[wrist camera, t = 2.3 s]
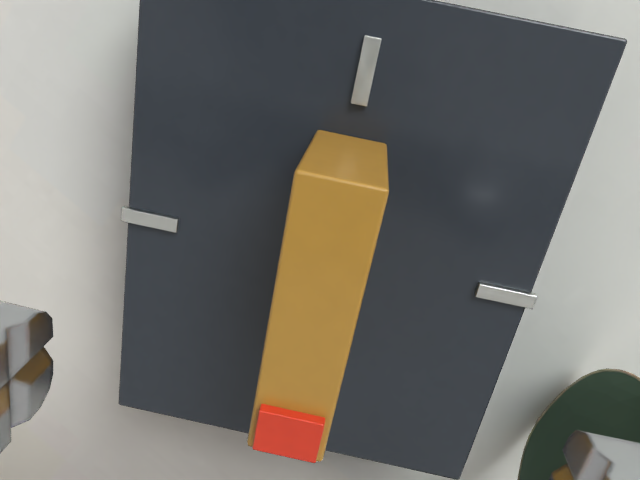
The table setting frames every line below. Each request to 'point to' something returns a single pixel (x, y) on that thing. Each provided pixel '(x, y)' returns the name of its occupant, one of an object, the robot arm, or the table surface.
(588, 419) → the sunglasses
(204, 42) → the dark grey square block
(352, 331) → the yellow block
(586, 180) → the table surface
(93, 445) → the table surface
